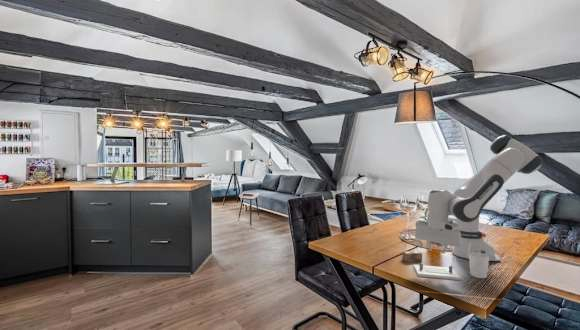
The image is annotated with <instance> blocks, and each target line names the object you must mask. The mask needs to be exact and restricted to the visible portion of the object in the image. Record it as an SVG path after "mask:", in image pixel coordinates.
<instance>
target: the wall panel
mask: <svg viewBox="0 0 580 330" xmlns="http://www.w3.org/2000/svg"><path fill="white" fill-rule="evenodd" d="M413 268H414V271H415V272H416V275H417V277H424V278H425V277H426V278H435V279H445V280H454V281H455V280H456V281H461V280H462V277H461V276H460V275H459V274H458V273H457V271H456V270H455V268H453V266H452V265H449V266H436V265H435V266H434V265H425V264H423V263H422V262H421V263H419V264H413Z"/></svg>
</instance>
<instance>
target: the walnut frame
mask: <svg viewBox="0 0 580 330" xmlns="http://www.w3.org/2000/svg"><path fill="white" fill-rule="evenodd" d="M401 256H402V258H401V259H402V261H404V262H405V263H419V262H421V263H422V262H423V253H422V252H421V251H419V250H410V251H408V250H407V251H402V255H401Z"/></svg>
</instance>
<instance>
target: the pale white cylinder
mask: <svg viewBox="0 0 580 330" xmlns="http://www.w3.org/2000/svg"><path fill="white" fill-rule="evenodd" d="M468 261H469V262H468V263H469V275H470V276H471V277H474V278H477V279H487V277H488V273H489V272H488V271H489V262H490V261H489V256H488V255H487V254H484V253H479V252H470V253H469V259H468Z"/></svg>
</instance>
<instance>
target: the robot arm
mask: <svg viewBox="0 0 580 330" xmlns="http://www.w3.org/2000/svg"><path fill="white" fill-rule="evenodd" d="M489 149H490V151H491V152H492V153H493V154H494V156H493V157H492V158H491V159H490V160H488V161H487V162H486V163H485V164H484V165H483V166H482V168H481V169H479V170H478V171H477V172H476V173H475V174H473V176H471V177H470V178H468V179H467V180H466V181H465V182H463V183H462V184H461V185H460V186H459V187H458V188H456V189H455V190H454V192H453V193H452V192H449V191H448V190H447V189H446V188H445V189H444V188H436V189H432V190H431V191H430V192H429V193H428V198H427V199H428V200H427V209H428V213H427V220H421V219H418V220H417V221H415V232H414V237H415V238H416V239H417V240H423V241H426V245H427V246H428V250H429V251H434V246H432V244H431V243H437V244H441V245H442V246H443V248H440V253H441V254H446V249H447V248H448V247H449V246H450V247H451V246H452V247H453V248H452V251H451V253H452V255H454V256H455V257H459V258H460V257H461V258H463V259H467V260H469V253H470V252H479V253H484V254H487V255H488V256H489V262H492V261H493V262H500V261H501V257H500V256H499V255H498V254H496V251H495V248H494V246H493V244H491V243H489V242H488V241H487V240H486V239H484V238H486V236H487V234H486V233H484V232H482V231H480V215H481V213H482V211H483V209H484V207H486V205H487V204H488V203H489V202H490V201H491V200H492V198H493V197H495V195H497V193H498V192H499V191H500V190H501V189H502V188H503V186H504V185H505V183H506V182H507V181H508V180H509V179H510V178H512V176H514V175H515V174H516V173H521V174H524V175H525V174H526V175H529V174H532V173H534V172H537V171H538V170H539V169H540V168H541V167H542V164H543V163H544V159H543V158H542V157H541V155H540V154H537V153H536V152H534V151H533V150H532V149H531V148H530V147H528V145H525V144H524V143H522V142H520V141H518V140H516V139H514V138H513V137H512V136H510V135H508V134H502V135H500V136H498V137H496V138H494V140H493V141H492V142H491V145H490V147H489ZM449 216H452V217H454V218H455V222H454V221H452V220H450V219H449Z"/></svg>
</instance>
